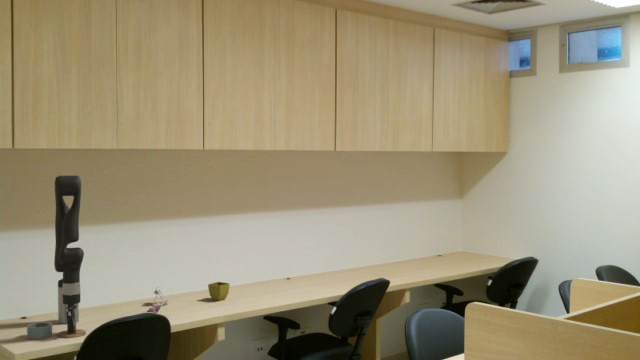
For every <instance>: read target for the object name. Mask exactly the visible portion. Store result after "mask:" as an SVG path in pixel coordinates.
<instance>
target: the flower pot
mask: <svg viewBox="0 0 640 360" xmlns="http://www.w3.org/2000/svg"><path fill="white" fill-rule="evenodd" d="M207 286H208V288H207V289H208V293H209V296H210V298H211V299H212V301H223V300H226V299H227V297H228V295H229V291H230V283H229V282H223V281H216V282H212V283H208V284H207Z"/></svg>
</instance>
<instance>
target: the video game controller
mask: <svg viewBox="0 0 640 360" xmlns="http://www.w3.org/2000/svg"><path fill="white" fill-rule="evenodd" d="M161 308H162V306H161V305H160V304H157V303H154V304H152V305H151V307H149V309H147V310H146V312H153V313H157V314H158V312H159V311H160V310H161Z"/></svg>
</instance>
